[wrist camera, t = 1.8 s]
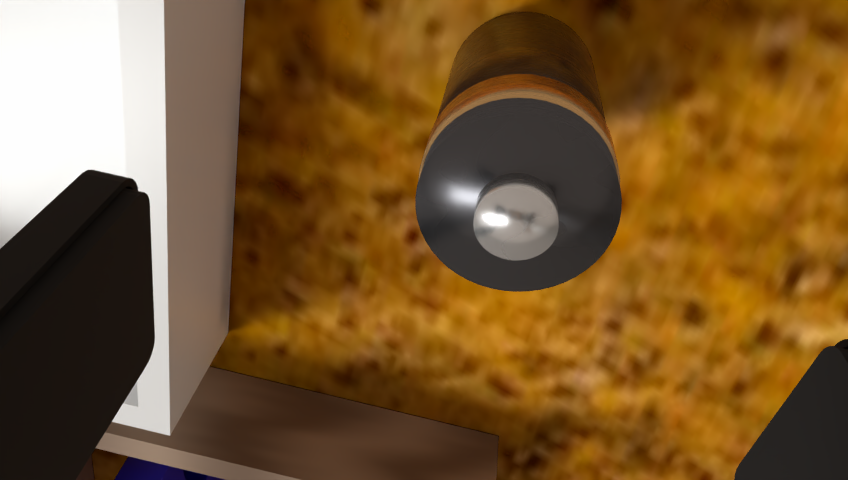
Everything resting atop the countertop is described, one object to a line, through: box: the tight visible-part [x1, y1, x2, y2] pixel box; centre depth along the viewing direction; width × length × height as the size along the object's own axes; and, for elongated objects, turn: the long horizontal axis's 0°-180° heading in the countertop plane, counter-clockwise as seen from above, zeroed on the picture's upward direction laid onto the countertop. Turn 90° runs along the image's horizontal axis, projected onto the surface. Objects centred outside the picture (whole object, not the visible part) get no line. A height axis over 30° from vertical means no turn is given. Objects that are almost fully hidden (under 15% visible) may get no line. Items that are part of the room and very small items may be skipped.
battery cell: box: [416, 12, 622, 291], centre depth 16 cm, size 4×4×8 cm
